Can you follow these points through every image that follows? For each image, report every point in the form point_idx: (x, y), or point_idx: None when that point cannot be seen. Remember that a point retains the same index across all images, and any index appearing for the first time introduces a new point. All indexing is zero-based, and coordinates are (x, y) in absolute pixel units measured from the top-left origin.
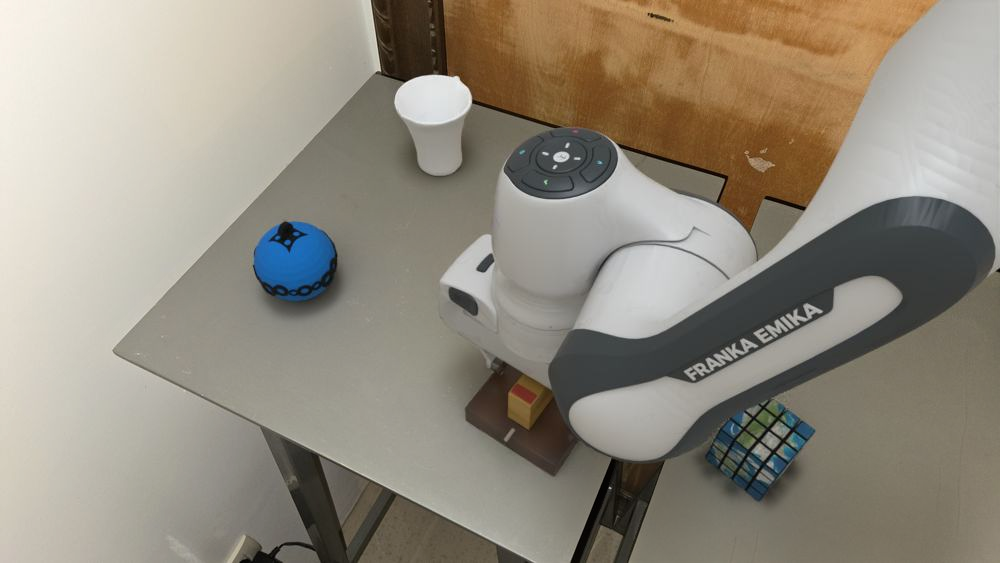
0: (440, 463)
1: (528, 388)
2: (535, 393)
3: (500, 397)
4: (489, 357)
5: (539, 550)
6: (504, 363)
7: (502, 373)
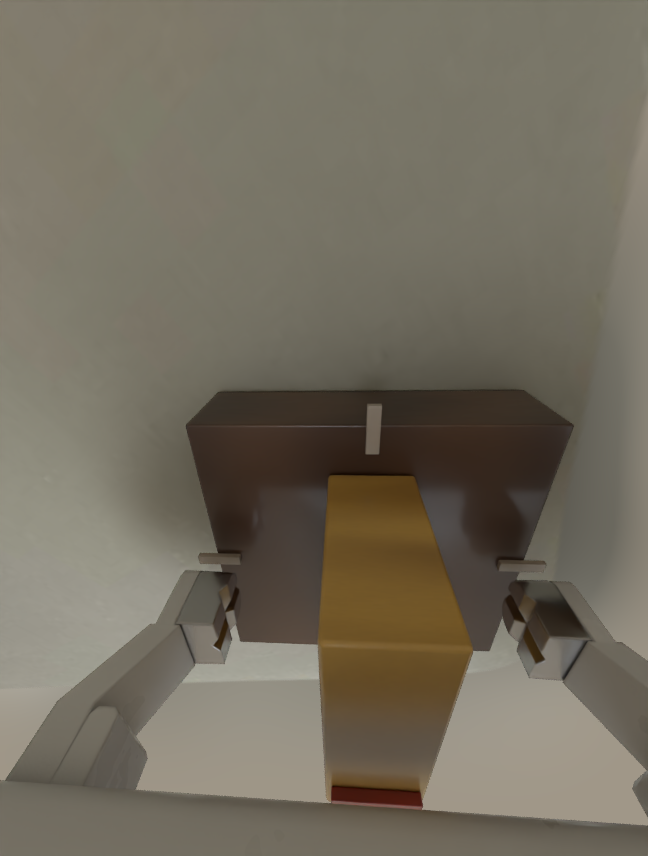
0: (278, 644)
1: (377, 786)
2: (411, 789)
3: (284, 599)
4: (175, 687)
5: (493, 668)
6: (226, 606)
7: (240, 557)
